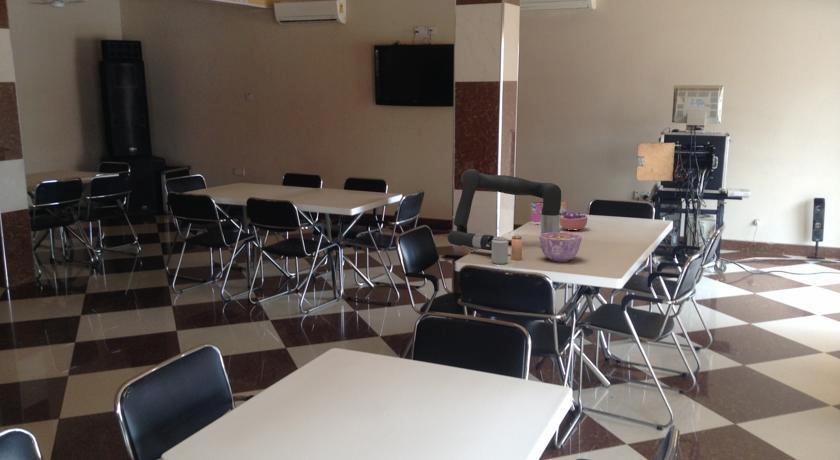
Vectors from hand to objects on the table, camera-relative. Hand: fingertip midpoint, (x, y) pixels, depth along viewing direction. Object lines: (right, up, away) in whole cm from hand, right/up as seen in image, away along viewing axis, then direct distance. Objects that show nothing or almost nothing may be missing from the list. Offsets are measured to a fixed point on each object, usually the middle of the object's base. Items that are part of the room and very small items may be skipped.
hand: (511, 245), depth 335 cm
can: (-7, -8, -9) cm, 14 cm away
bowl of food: (+22, -7, -3) cm, 24 cm away
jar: (+2, -6, -1) cm, 7 cm away
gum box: (+37, +11, +107) cm, 114 cm away
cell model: (+47, +7, +81) cm, 94 cm away
